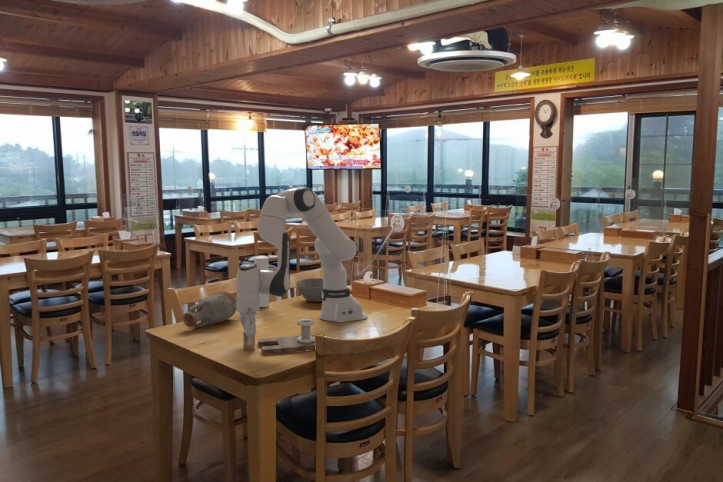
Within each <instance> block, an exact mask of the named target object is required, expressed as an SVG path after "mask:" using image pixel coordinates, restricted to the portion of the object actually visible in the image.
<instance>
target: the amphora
mask: <svg viewBox="0 0 723 482" xmlns="http://www.w3.org/2000/svg"><path fill="white" fill-rule="evenodd" d="M195 310H196V311H195ZM236 312H237V311H236V297H234V295H232V293H229V291H223V290H220V291H217V292H215V293H212V294H210V295H208V296H205V297H204V298H202V299H200V300H199V301H198V303H196V304H194V305H191V306H190V307H189V309H188V311H187V312H185V313H184V314H183V315H182V321H183V324H184V325H185V326H186V327H187V328H194V329H197V328H202V327H204V326H212V325H215V324H218V323H222V322H224V321H227V320H229V319H230V318H232V317H233V316H234V315H235V314H236Z"/></svg>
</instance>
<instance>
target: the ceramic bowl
mask: <svg viewBox="0 0 723 482" xmlns="http://www.w3.org/2000/svg"><path fill="white" fill-rule="evenodd" d="M295 285H296V286H297V288H298V289H299V291H300V293H301V295H302V297H303V298H304V299H305V300H307V301H308V302H315V303H319V302H320V303H321V302H322V288H323V278H318V277H315V278H314V277H313V278H303V279H301V280H297V281H296V282H295Z"/></svg>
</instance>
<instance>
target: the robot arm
mask: <svg viewBox="0 0 723 482" xmlns="http://www.w3.org/2000/svg"><path fill="white" fill-rule="evenodd" d="M297 214H301V216H302V217H303V220H304V221H305V223H306V225H307V226H308V228H309V229H310V231H311V232H312V234H313V235H314V236H315V237H316V239H315V241H314V246H313V247H314V249H315V251H316V252H317V255H318V257H319V260H320V264H321V270H322V279H323V288H322V303H321V310H320V314H319V317H318V318H319V319H320V320H323V321H329V322H334V323H346V322H347V323H348V322H353V321H360V320H361V321H362V320H367V319H368V315H367V313H366V312H364V311H363V307H362V304H361V303H360V302H359V301H358V300H357V299H356V298H354V297H353V296H352V295H354V290H353V289H351V288H349V287H348V286H347V284H348V283H347V282H348V280H347V278H348V277H347V274H348V273H347V270H346V268H345V266H344V265H343V262H344V261H350V260H352V259H353V258H354V257H355V256H356V254H357V250H358V248H357V244H356V242H355V241H354V240H352V239H351V238H350V237H349V236H348V235H347V234H346V233H345V232H344V231H343V230H342V229H341V227H340V226H339V225H338V224H337V223H336V222H335V221H334V219H333V217H332V215H331V213H330V212H329V210H328V209H327V207H326V205H325V204H324V202H323V201H322V200H321V198H320V197H319V196H318V194H317V193H316V192H314V191H312V190H311V189H310V188H308V187H307V186H306V187H305V186H304V187H303V186H299V187H294V188H288V189H286V190H285V189H284V190H282V191H277V192H276V193H274V194H273V195H270V196H268V197H267V198H266V199H265V201H264V203H263V205H262V206H261V210H260V214H259V217H258V221H257V233H258V235H259V236H260V238H261V239H262V240H264V241H265V242H267V243H268V244H270V245H273V246H274V247H276V248H277V268H276V269H273V270H272V269H271V270H270V269H269V270H264V269H259V268H258V266H257V265H256V264H254V262H248V263H246V262H245V263H242V264H241V265H239V266H238V268H237V270H236V271H237V272H236V282H235V283H236V284H235V288H236V293H237V294H236V297H235V298H236V312H238V313H239V318H240V324H241V326H242V329H243V333H246V336H247V344H248V345H252V339H253V336H255V337H256V333H257V327H256V325H257V324H256V323H257V320H256V319H257V318H256V315H257V312H259V311H260V310H261V308H260V297H259V293H260V294H269V296H275V297H278V298H279V297H282V296H284V295H286V294H287V293H288V292H289V290H290V288H291V274H290V273H291V272H290V269H291V268H290V267H291V265H290V264H291V238H290V236H289V234H288V232H286V225H287V224H286V222H287V216H293V215H297Z"/></svg>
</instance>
